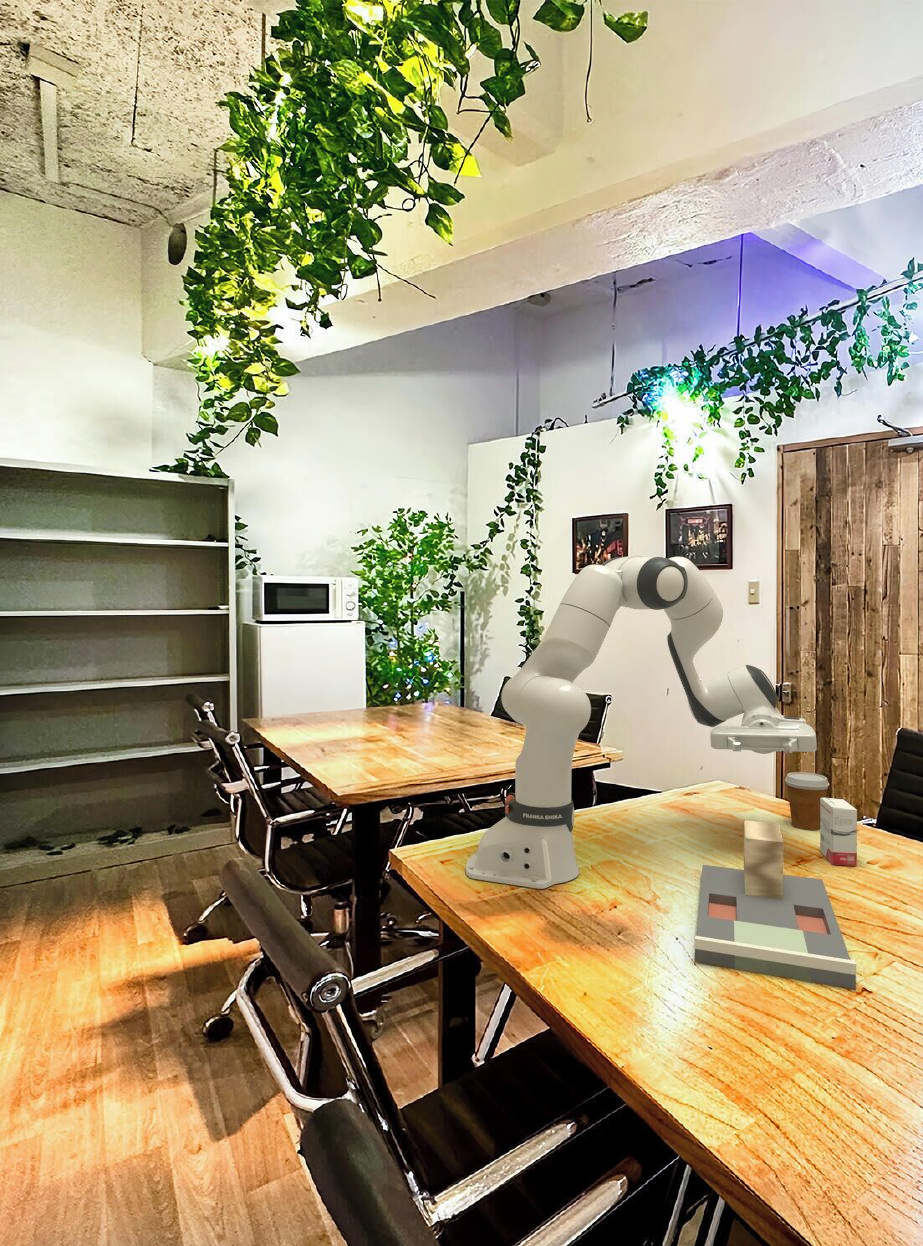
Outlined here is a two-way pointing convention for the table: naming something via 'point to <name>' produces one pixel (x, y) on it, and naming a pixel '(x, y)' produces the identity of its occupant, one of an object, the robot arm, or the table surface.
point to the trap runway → (771, 929)
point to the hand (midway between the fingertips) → (761, 748)
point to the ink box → (838, 831)
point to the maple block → (763, 859)
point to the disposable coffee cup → (806, 798)
